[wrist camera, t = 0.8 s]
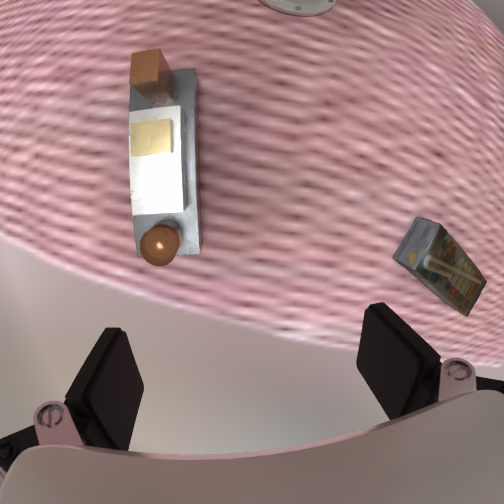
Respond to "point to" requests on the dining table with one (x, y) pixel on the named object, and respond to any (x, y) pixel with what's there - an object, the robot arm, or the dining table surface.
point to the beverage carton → (441, 265)
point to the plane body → (185, 95)
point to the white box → (157, 160)
